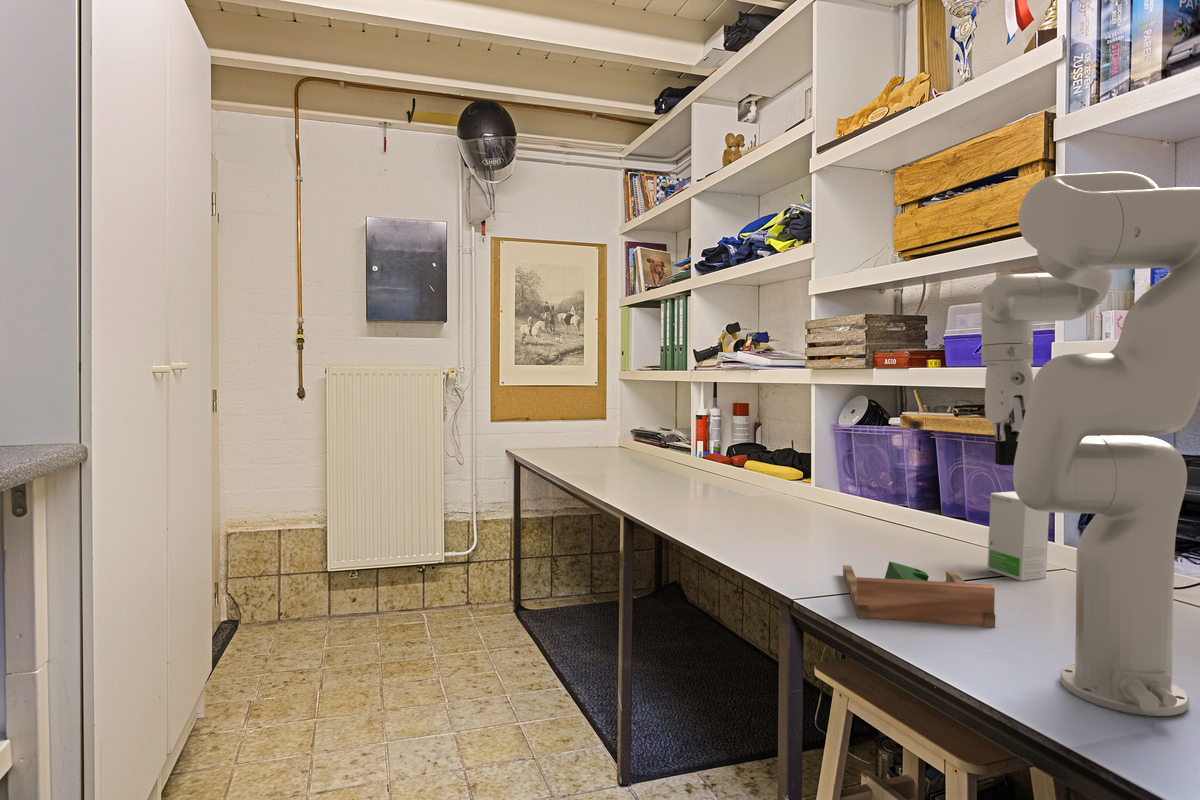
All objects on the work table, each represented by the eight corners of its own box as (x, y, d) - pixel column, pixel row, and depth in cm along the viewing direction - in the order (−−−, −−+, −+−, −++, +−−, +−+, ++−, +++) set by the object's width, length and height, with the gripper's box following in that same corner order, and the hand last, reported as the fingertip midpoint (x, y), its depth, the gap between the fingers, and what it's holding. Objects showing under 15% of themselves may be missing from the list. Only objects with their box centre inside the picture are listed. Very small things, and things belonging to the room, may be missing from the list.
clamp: (923, 637, 117) (942, 596, 113) (885, 626, 118) (903, 585, 114) (915, 590, 128) (932, 551, 123) (881, 581, 129) (897, 542, 125)
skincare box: (986, 570, 141) (987, 492, 140) (1012, 567, 143) (1013, 490, 142) (1023, 582, 133) (1023, 499, 132) (1050, 578, 135) (1050, 497, 134)
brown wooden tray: (995, 627, 109) (995, 588, 109) (858, 618, 114) (858, 581, 114) (954, 581, 133) (954, 549, 133) (842, 575, 138) (843, 544, 138)
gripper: (1050, 353, 111) (1050, 469, 111) (1014, 358, 126) (1015, 461, 126) (998, 353, 113) (998, 469, 113) (968, 358, 127) (969, 460, 127)
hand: (1007, 464), depth 119 cm, fingers closed
